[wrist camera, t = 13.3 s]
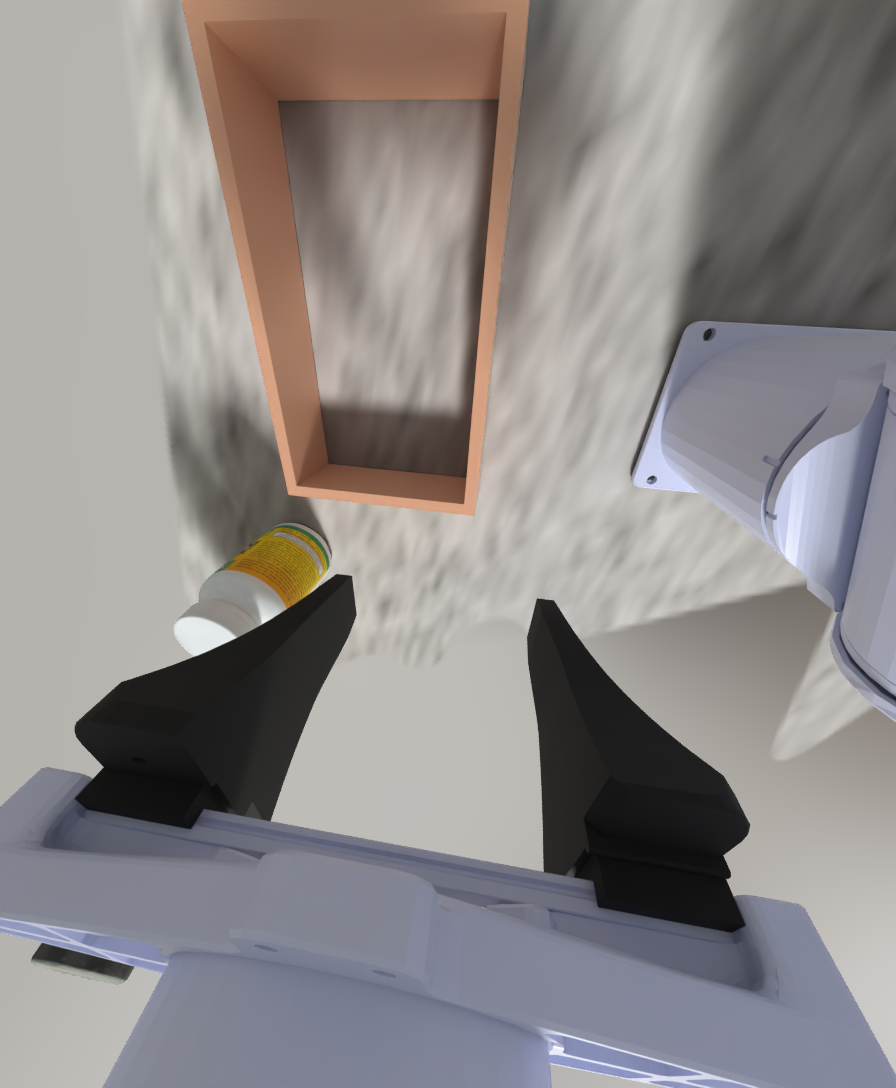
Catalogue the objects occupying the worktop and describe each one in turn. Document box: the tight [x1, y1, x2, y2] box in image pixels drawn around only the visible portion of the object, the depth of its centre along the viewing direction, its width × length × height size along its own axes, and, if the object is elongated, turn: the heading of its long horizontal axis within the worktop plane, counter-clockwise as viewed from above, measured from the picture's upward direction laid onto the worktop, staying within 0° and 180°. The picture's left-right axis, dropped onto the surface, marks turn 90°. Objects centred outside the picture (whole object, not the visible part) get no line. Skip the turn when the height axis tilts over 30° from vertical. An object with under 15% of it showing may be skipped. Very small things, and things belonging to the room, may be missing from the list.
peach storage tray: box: [182, 0, 530, 516], centre depth 16 cm, size 11×17×4 cm, turn 177°
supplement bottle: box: [174, 523, 332, 656], centre depth 22 cm, size 5×5×10 cm
